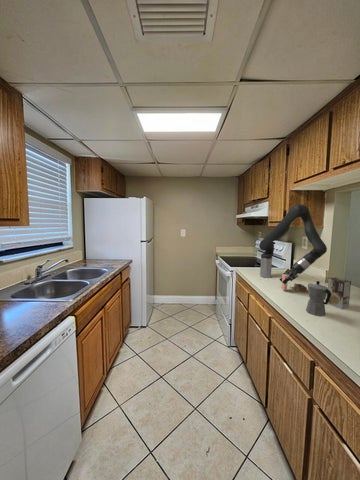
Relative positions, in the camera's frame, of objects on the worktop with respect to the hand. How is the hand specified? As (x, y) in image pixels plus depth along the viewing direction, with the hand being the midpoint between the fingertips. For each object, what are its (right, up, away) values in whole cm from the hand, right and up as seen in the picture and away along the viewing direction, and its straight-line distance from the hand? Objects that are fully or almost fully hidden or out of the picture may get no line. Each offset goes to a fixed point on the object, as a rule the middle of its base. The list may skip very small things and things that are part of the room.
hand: (281, 281), depth 146 cm
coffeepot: (+3, -11, -33) cm, 35 cm away
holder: (+15, -7, +3) cm, 17 cm away
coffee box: (+23, -10, -22) cm, 33 cm away
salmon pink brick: (+2, -5, 0) cm, 6 cm away
